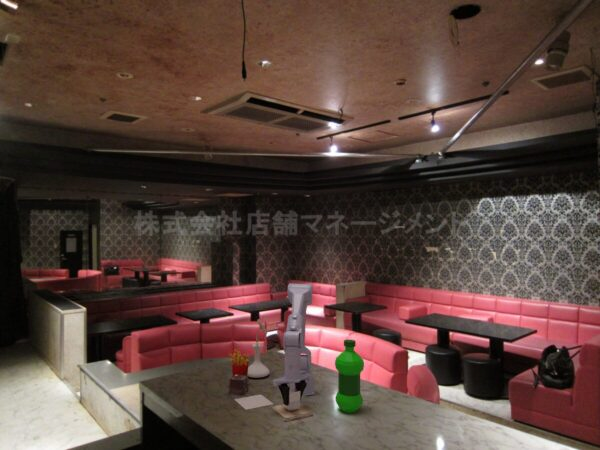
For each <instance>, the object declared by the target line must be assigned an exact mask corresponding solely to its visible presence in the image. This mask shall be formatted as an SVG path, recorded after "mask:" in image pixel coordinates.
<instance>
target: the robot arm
mask: <svg viewBox="0 0 600 450" xmlns="http://www.w3.org/2000/svg"><path fill="white" fill-rule="evenodd" d="M286 292H287V297H288V301H289V304H291V314H289V315H288V317H287V324H286V330H285V331H284V333H283V338H282V339H283V340H282V341H283V343H282V344H283V352H284V373H283V376H281V377H278V378H274V379H272V385H273V386H274V387H278V389H279V392H280V394H281V398H282V402H283V403H284V405H286V406H288V396H289V390H290V388H296V389H298V390H299V391H300V403H301V400H302V397H303V396H305V397H307V396H311V395H315V394H316V392H315V376H314V372H313V371H312V352H311V350H310V349H309V348H308V347H307V346H306V321H307V320H306V319H307V318H306V317H307V316H306V315H307V307H308V306H309V305H312V302H313V292H314V291H313V284H312V283H292V282H291V283H290V282H289V283H288V285H287V291H286ZM288 384H289V385H288Z"/></svg>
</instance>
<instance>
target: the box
mask: <svg viewBox="0 0 600 450" xmlns="http://www.w3.org/2000/svg"><path fill="white" fill-rule="evenodd" d="M248 392H249V376H246V375H234V376H233V375H232V376H231V377H230V378H229V395H233V396H245V395H246V393H248Z"/></svg>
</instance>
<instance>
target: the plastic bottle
mask: <svg viewBox="0 0 600 450" xmlns="http://www.w3.org/2000/svg"><path fill="white" fill-rule="evenodd" d="M343 346H344V347H345V348H344V350H343V351H342V352H340V354H338V356H336V358H335V361H334V365H335V366H334V367H335V369H336V370H337V372H338V374H337V375H338V386H337V390H338V391H337V393H336V395H335V402H336V403H335V404H336V405H337V406H338V407H339V409H340V410H341V411H342V412H344V413H346V414H353V412H354V413H356V411H358V410H359V409H360V408H361V406H362V405H363V402H364V401H363V400H364V399H363V396H362V394H361V373H362V372H363V371H364V368H365V362H364V359H363V357H362V356H361V355H359V354H358V352H356V351H355V347H356V340H354V339H344V340H343Z"/></svg>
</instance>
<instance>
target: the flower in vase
mask: <svg viewBox="0 0 600 450" xmlns="http://www.w3.org/2000/svg"><path fill="white" fill-rule="evenodd" d="M257 325H258V326H259V328H258V331H256V335H255V339H256V340H255V343H254V344H252V345H251V347H252V348H253V350H254V361H253V362H252V363H251V364H249V365H248V375H247V376H249V377H250V378H258V379H260V378H264V377H267V376H268V375H269V374H270V369H269V368H268V367H267V366H266V365H265V364H263V363H262V361H261V350H262V348H263V347H264V344H262V343H258V342H260V341H261V339H262V338H258V334H259V332H260V330H261V331H262V332H263V334H265V335H267V334H268V332H267V329H266V328H265V324H263V322H262V320H260V319H257ZM249 377H248V378H249Z"/></svg>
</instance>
